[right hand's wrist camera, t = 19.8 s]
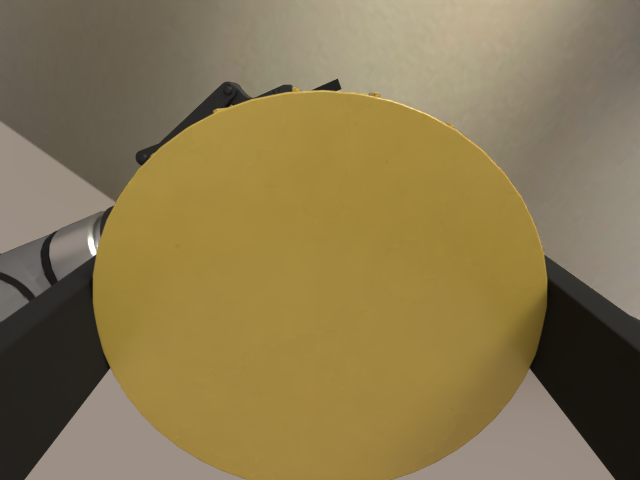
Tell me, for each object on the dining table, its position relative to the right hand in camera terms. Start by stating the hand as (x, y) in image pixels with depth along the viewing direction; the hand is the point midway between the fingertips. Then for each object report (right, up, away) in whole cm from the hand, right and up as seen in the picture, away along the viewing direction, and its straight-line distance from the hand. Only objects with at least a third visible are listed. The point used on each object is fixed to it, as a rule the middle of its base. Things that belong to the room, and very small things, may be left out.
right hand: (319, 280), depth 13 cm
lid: (0, -1, -2) cm, 2 cm away
